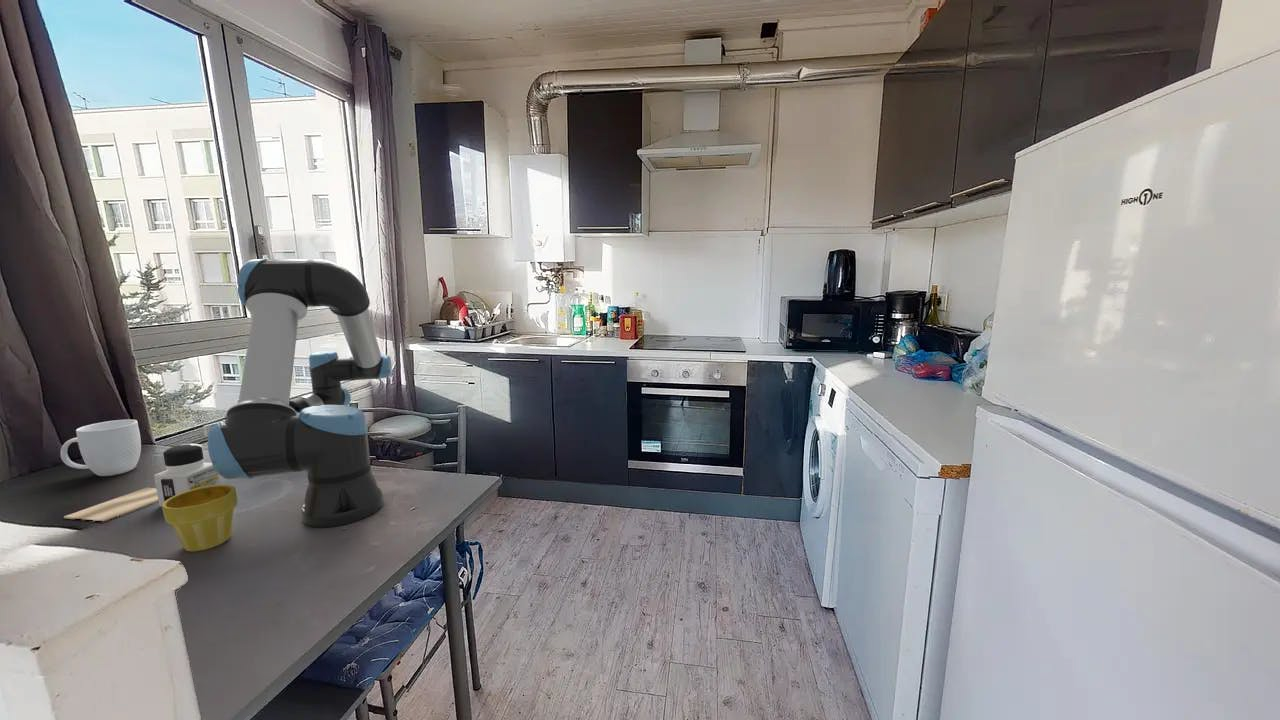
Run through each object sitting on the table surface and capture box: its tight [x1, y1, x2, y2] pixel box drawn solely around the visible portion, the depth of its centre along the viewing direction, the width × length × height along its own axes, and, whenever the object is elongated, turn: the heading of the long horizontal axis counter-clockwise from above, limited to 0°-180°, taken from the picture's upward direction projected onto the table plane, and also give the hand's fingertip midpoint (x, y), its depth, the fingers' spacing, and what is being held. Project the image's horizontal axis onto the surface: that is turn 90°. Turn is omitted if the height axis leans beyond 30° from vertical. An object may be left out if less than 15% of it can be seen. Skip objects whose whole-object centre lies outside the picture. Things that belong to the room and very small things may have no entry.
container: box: [153, 443, 221, 508], centre depth 109 cm, size 8×8×13 cm
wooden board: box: [63, 487, 159, 523], centre depth 108 cm, size 11×15×1 cm
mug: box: [60, 419, 142, 477], centre depth 126 cm, size 15×11×13 cm
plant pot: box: [161, 484, 238, 553], centre depth 91 cm, size 10×10×10 cm
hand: (227, 432), depth 118 cm, fingers open, 13 cm apart
